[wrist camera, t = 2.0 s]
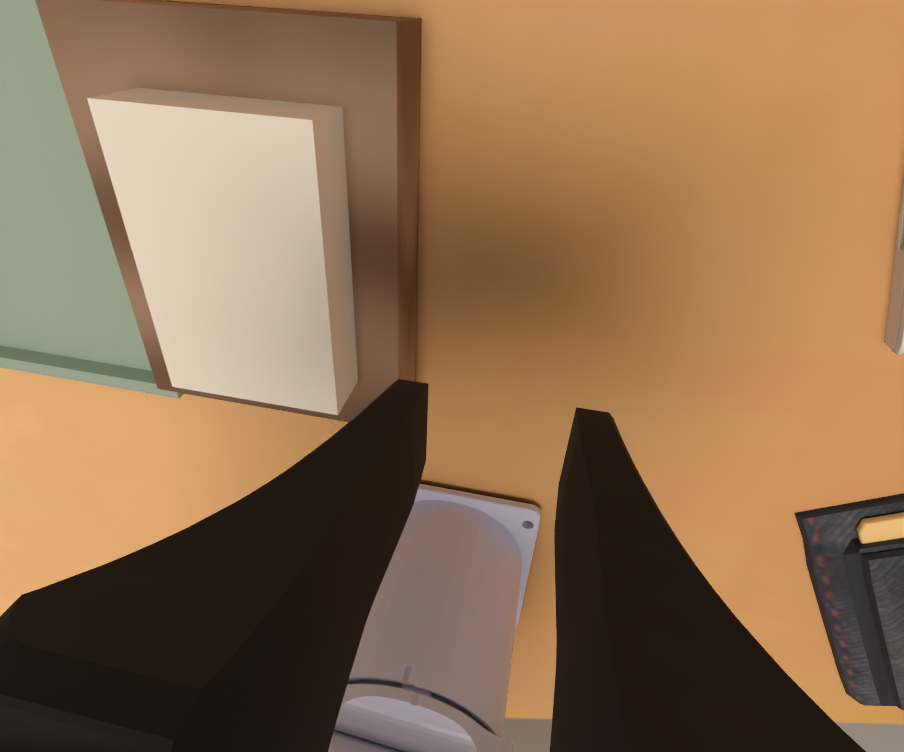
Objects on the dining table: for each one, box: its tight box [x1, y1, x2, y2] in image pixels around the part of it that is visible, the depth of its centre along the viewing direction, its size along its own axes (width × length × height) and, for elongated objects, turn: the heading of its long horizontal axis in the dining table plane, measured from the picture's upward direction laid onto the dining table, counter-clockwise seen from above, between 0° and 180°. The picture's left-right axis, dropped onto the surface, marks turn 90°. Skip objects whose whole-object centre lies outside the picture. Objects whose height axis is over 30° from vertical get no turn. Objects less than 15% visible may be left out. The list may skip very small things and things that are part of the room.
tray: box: [0, 0, 184, 398], centre depth 21 cm, size 16×11×1 cm
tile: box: [87, 88, 358, 415], centre depth 17 cm, size 9×6×2 cm, turn 177°
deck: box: [35, 0, 421, 422], centre depth 19 cm, size 13×10×2 cm
